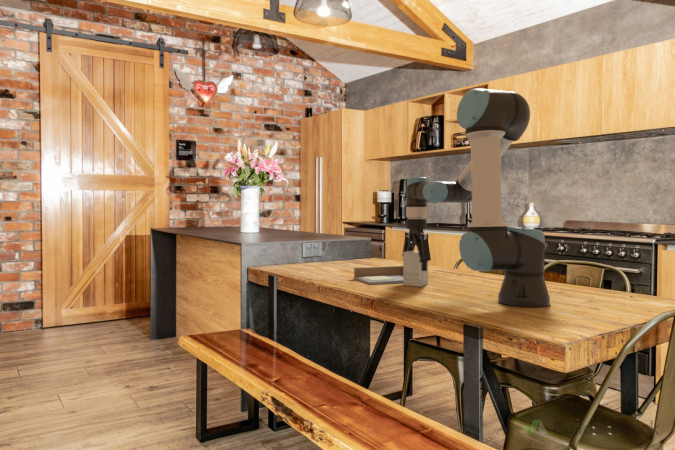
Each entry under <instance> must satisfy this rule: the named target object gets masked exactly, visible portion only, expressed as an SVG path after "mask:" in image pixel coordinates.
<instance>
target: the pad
mask: <svg viewBox="0 0 675 450" xmlns="http://www.w3.org/2000/svg"><path fill="white" fill-rule="evenodd" d="M362 278H365V279H368V280H371V281H376V280H395V279H394V278H390V277H387V276H368V277H362Z"/></svg>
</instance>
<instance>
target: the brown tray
mask: <svg viewBox="0 0 675 450" xmlns="http://www.w3.org/2000/svg"><path fill="white" fill-rule="evenodd" d="M368 276H387V277H390V278H394V279H395V280H376V281H371V280H368V279H365V278H362V277H368ZM353 279H354V280H355V279H356V280H355V281H359V282H362V283H364V284H367V285H370V286H373V285H388V284H392V283H393V284H403V265H393V266H372V267H371V266H369V267H367V266H366V267H365V266H364V267H353Z"/></svg>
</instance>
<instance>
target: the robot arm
mask: <svg viewBox="0 0 675 450" xmlns="http://www.w3.org/2000/svg"><path fill="white" fill-rule="evenodd" d="M530 109H531V108H530V104H529V103H528V102H527V99H525V97H524V96H522V95H521V94H519V93H517V92H515V91H510V90H509V91H508V90H507V91H506V90H504V91H503V90H497V89H489V88H488V89H487V88H473V89H470V90H468V91H467V92H466V93H465V94H464V95H463V96H462V97H461V100H460V101H459V103H458V106H457V110H456V111H457V112H456V121H457V123H458V125H459V126H460V127H461V128H462V129H465V131H464V134H465V137H466V139H467V140H468V141H469V142H470V161H469V162H468V164H467V166H466V167H465V168H464V169H463V171H462V172H461V174H460V175H459V177H457V179H456V180H455V181H439V180H431V181H428V180H427V177H425V176H409V177H408V178H406V189H405V191H406V192H405V193H406V194H405V195H406V198H405V199H406V207H405V216H406V218H407V219H406V220H405V223H406V224H405V226H406V227H405V228H406V229H407V230H408V231H405V232H404V241H403V246H402V247H403V249H402V254H401V255H402V257H403V252H407V251H415V249H416V248H417V251H418V253H419V256H420V261H419V280H427V262H428V263H429V261H431V260H432V259H431V258H432V257H431V253H430V252H431V251H430V245H429V233H424V230H426V229H427V219H425V218H427V212H428V211H427V204H428V203H431V204H434V203H435V204H438V203H439V204H440V203H443V204H444V203H447V204H448V203H449V204H450V203H453V204H454V203H455V204H467V203H471V222H469V224H468V225H466V231H467V232H465V233H463V234H462V235H461V237H460V240H459V245H458V247H459V248H458V249H459V250H458V251H459V254H460V257H461V261H463V263H464V264H465V266H466V267H467V268H468V269H470V270H472V271H476V272H486V273H487V272H490V271H504V272H503V273H504V274H503V275H504V277H503V280H502V283H501V286H500V289H499V292H498V294H497V301H498V303H500V304H503V305H508V306H512V307H513V306H515V307H524V308H527V307H528V308H538V307H547V306H550V305H551V303H550V302H551V297H550V295H549V291H548V288H547V283H546V281H545V262H546V261H545V254H546V242H545V241H546V239H545V234H544V232H543V231H542V230H539V229H533V228H527V227H517V226H508V224H507V223H506V222H504V221H503V211H502V209H503V208H502V207H503V206H502V166H501V165H502V159H501V158H502V156H504V154H505V153H506V151H508V149H509V147H510V146H511V145H512V143H514V142H517V141H519V140H520V138H521V137H522V136H523V135H524V133H525V132H526V130H527V128H528V126H529V124H530V123H529V122H530V119H531V110H530ZM415 247H416V248H415Z"/></svg>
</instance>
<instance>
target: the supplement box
mask: <svg viewBox="0 0 675 450" xmlns="http://www.w3.org/2000/svg"><path fill="white" fill-rule="evenodd" d="M402 254H403V256H402V258H403V261H402V263H403V264H402V266H403V283H402V284H403V286H409V287H424V286H427V285H429V261H428V262H427V280H419V261H420V256H419V253H418V250H414V251H407V252H403V251H402Z"/></svg>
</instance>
